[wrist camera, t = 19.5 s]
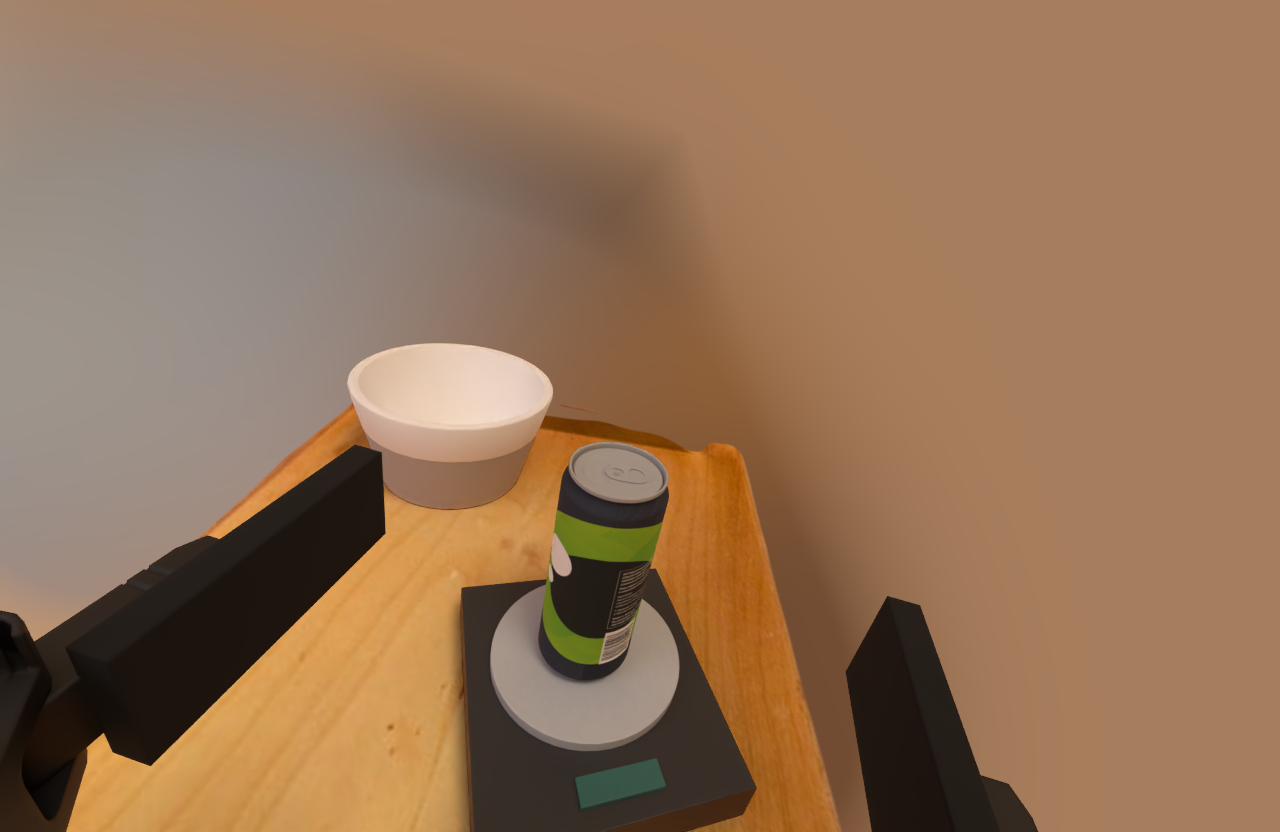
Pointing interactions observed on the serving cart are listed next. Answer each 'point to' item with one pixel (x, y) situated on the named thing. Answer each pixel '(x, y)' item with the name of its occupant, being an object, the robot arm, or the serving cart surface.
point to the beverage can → (600, 557)
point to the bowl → (449, 420)
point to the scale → (591, 726)
